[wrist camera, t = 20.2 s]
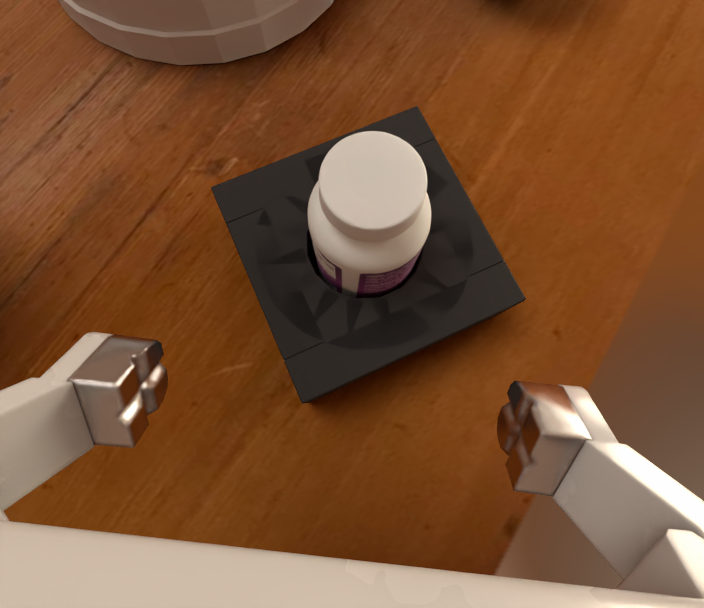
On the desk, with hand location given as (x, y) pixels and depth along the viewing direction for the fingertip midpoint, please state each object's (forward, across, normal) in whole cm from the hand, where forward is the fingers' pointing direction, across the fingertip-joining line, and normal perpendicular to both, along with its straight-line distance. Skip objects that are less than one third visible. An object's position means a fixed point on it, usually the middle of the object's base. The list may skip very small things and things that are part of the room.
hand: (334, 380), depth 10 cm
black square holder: (+15, 0, +4) cm, 15 cm away
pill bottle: (+15, -1, +4) cm, 15 cm away
